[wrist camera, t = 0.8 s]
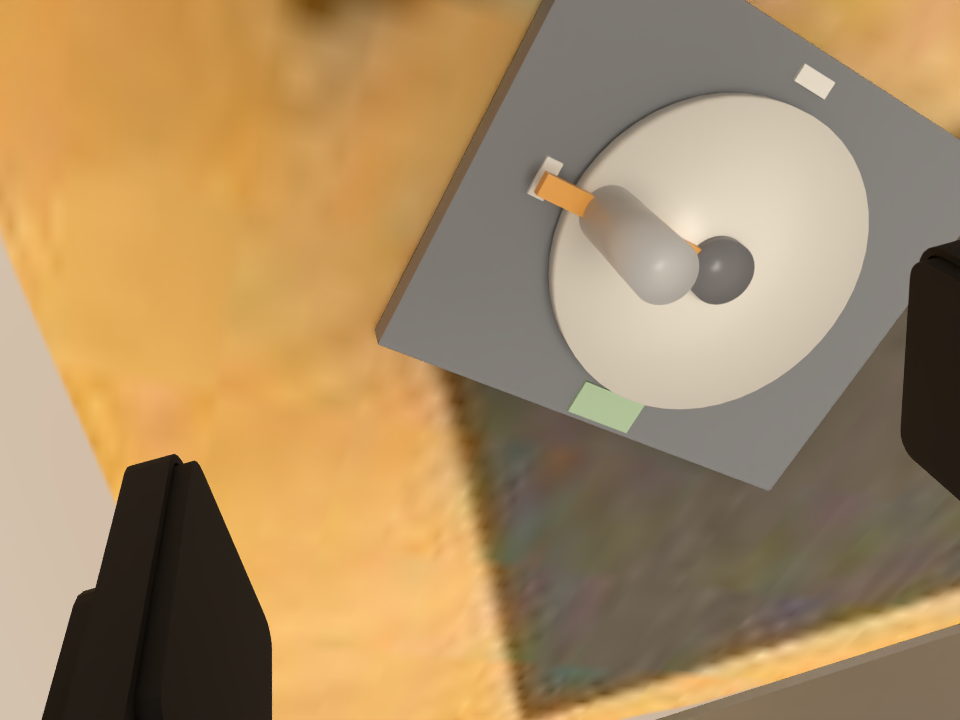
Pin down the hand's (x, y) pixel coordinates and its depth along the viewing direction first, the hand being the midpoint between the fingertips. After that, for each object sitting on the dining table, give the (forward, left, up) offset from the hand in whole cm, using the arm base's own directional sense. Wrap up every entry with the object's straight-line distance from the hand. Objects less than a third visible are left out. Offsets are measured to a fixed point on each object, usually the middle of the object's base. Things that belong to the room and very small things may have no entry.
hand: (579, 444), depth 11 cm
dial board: (+1, +17, -29) cm, 33 cm away
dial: (+1, +16, -27) cm, 31 cm away
